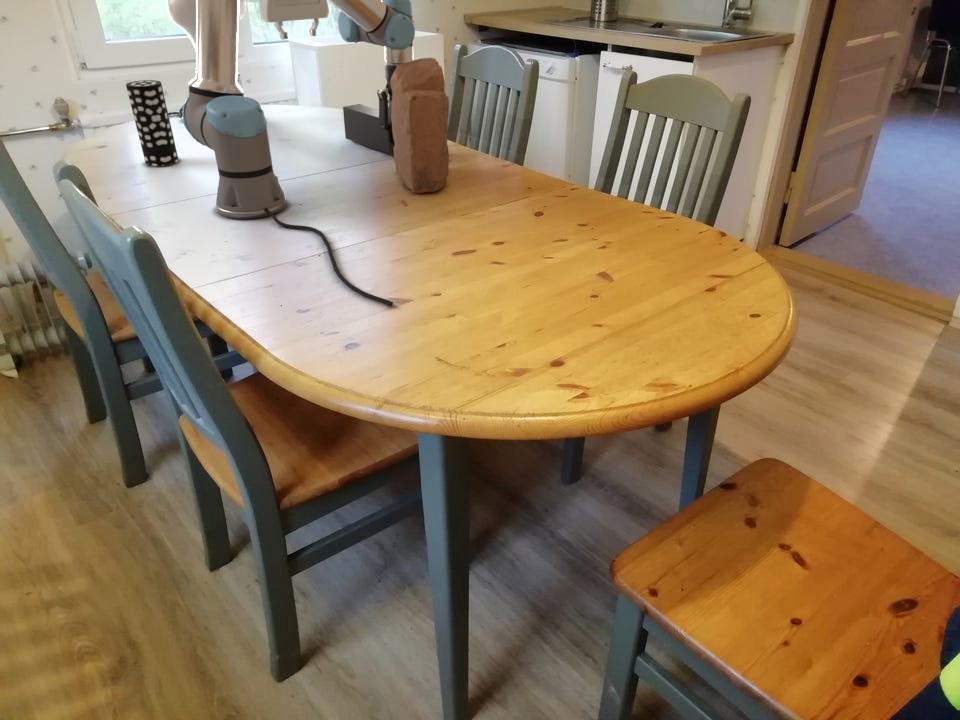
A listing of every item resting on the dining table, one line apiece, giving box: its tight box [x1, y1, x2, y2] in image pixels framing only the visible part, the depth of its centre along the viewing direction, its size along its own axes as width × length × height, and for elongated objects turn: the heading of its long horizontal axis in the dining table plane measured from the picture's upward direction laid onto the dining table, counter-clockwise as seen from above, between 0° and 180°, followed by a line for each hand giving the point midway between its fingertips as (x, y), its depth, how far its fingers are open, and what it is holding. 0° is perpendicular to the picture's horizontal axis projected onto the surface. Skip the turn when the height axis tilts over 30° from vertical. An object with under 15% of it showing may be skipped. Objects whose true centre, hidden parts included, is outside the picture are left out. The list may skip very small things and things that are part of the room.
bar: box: [342, 103, 393, 156], centre depth 197 cm, size 27×6×9 cm, turn 44°
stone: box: [390, 57, 450, 194], centre depth 168 cm, size 22×11×28 cm, turn 18°
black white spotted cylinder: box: [125, 79, 179, 167], centre depth 181 cm, size 8×8×20 cm
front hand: (402, 152), depth 193 cm, fingers closed on bar, 6 cm apart
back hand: (298, 37), depth 198 cm, fingers open, 8 cm apart
